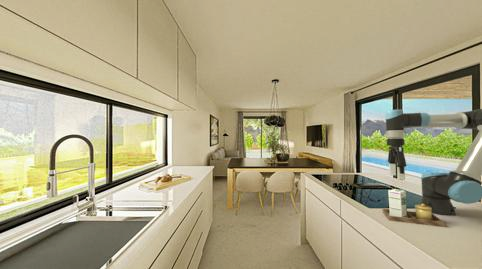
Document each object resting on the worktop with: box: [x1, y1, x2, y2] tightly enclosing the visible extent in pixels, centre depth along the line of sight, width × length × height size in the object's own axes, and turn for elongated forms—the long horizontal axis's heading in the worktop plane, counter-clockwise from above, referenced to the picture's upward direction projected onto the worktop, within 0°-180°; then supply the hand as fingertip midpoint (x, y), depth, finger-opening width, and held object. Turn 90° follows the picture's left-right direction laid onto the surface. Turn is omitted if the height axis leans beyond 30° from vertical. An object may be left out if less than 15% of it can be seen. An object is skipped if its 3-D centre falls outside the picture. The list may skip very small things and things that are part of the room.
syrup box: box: [388, 188, 408, 218], centre depth 104 cm, size 6×6×14 cm
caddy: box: [381, 208, 446, 228], centre depth 102 cm, size 22×12×3 cm, turn 67°
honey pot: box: [414, 203, 432, 220], centre depth 100 cm, size 6×6×9 cm
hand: (396, 177), depth 105 cm, fingers open, 13 cm apart
